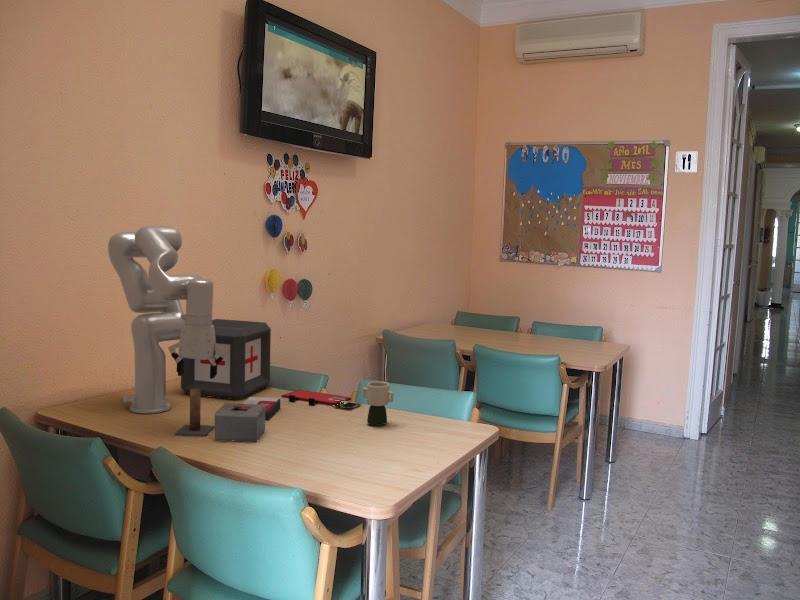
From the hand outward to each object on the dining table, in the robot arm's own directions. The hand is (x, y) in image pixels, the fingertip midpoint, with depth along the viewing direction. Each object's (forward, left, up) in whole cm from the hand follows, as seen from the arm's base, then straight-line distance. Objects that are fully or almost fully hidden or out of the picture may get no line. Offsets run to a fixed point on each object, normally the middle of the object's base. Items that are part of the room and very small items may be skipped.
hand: (196, 376), depth 204 cm
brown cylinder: (+1, -4, -15) cm, 16 cm away
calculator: (+15, +18, -16) cm, 28 cm away
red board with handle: (+33, +37, -16) cm, 52 cm away
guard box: (+15, -6, -16) cm, 23 cm away
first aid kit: (-4, +47, -16) cm, 50 cm away
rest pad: (+1, -4, -16) cm, 16 cm away
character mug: (+54, +11, -16) cm, 57 cm away
